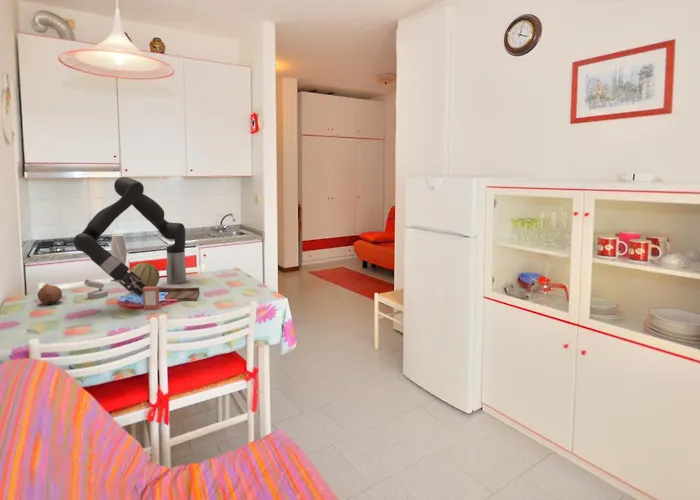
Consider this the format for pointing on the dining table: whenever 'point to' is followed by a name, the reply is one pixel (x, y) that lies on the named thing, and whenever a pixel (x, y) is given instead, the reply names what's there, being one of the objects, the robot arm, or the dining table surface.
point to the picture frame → (151, 297)
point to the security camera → (97, 292)
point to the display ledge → (181, 293)
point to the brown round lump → (49, 294)
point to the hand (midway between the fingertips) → (144, 291)
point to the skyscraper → (118, 248)
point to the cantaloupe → (146, 274)
